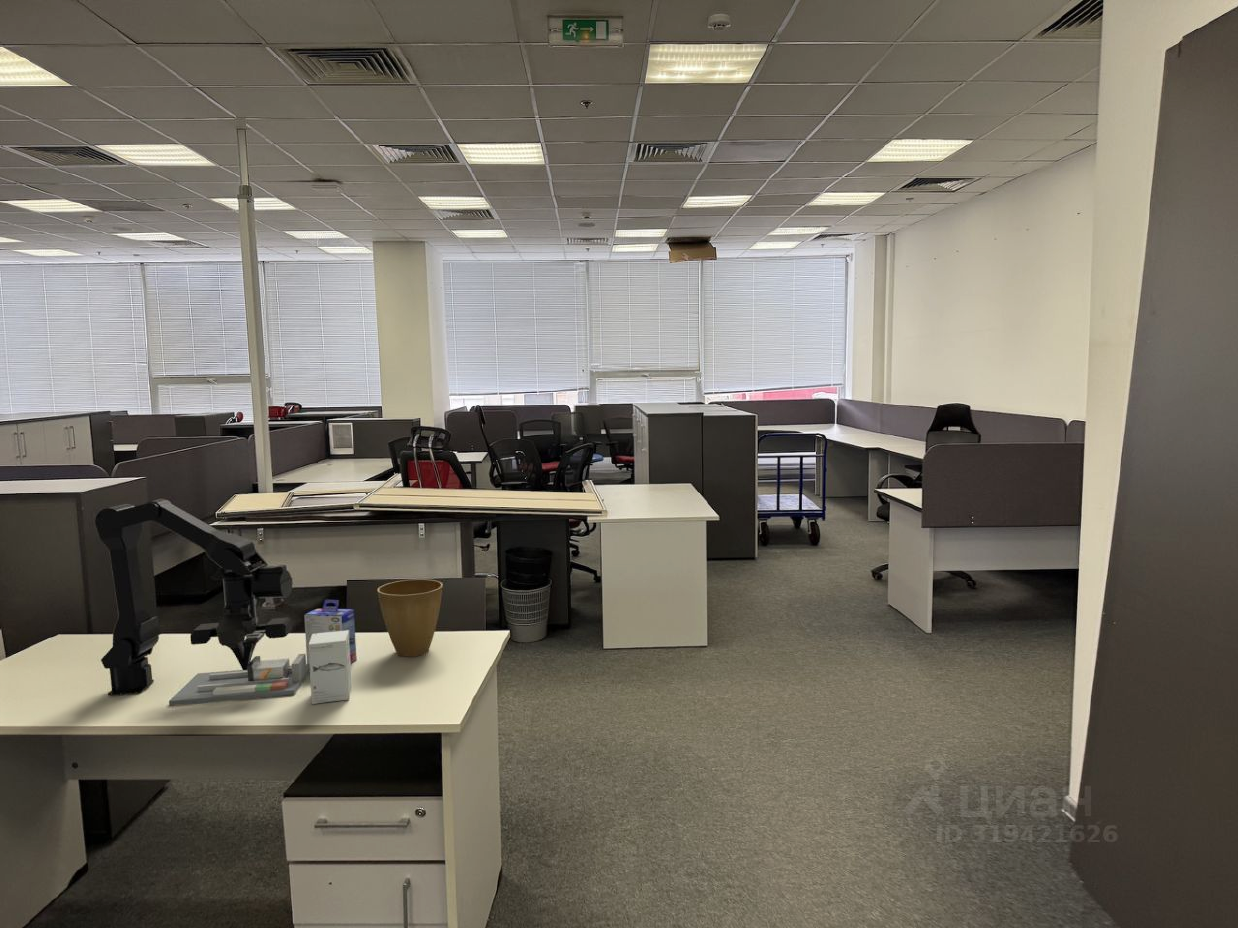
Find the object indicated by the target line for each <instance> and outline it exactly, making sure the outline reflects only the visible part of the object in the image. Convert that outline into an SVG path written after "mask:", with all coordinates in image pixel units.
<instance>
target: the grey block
mask: <svg viewBox="0 0 1238 928" xmlns="http://www.w3.org/2000/svg"><path fill="white" fill-rule="evenodd" d="M290 666H291V665H290V658H280V659H279V658H278V659H266V660H261V655H258V656H257V655H256V656H255V655H254V657H252V658H251V661H250V663H249V664H248V665H247V672H248V681H258V680H269V679H281V678H286V677H287V675H288V674H289V673H290Z"/></svg>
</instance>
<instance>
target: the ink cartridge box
mask: <svg viewBox="0 0 1238 928" xmlns="http://www.w3.org/2000/svg"><path fill="white" fill-rule="evenodd" d="M339 602H340V600H339V599H325V600H324V602H323V606H322V608H316V609H313V610H311V611H308V612H307V613H305V614H304V615H303V616H304V617H303V618H304V632H305V634H304V635H305V649H306V650H305V651H306V653H305V654H306V664H310V663H309V642H310V639H311V636H312V634H316V633H326V632H337V631H346V630H349V645H350V663H351V664H352V663H354V662H355V660H356V661H357V642H356V629H355V628H356V626H355V610H354V608H353V609H349V608H339V604H340V603H339ZM331 603H332V604H334V606H331V605H327V604H331Z"/></svg>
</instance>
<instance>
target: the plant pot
mask: <svg viewBox="0 0 1238 928" xmlns="http://www.w3.org/2000/svg"><path fill="white" fill-rule="evenodd" d="M443 586H444V585H443V582H441V581H438V580H434V579H422V578H420V579H419V578H417V579H416V578H415V579H403V580H398V581H393V582H389V583H385V584H384V585H381V586H379V587H378V588H377V597H378V600H379V605H380V610H381V613H382V618H383V622H384V623H385V628H386V631H387V632H388V635H389V638H390V642H391V644H392V646H393V648H394V650H395V652H396V654H397V655H398V656H400V657H405V658H411V657H418V655H419V656H423V655H424V653H425V654H427V653H428V651H430V648H431V645H432V642H433V639H434V635H435V632H436V627H437V625H438V624H437V623H438V620H439V614H440V610H441V609H440V608H441V603H442V594H443ZM426 652H427V653H426ZM422 654H423V655H422Z"/></svg>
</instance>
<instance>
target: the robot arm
mask: <svg viewBox="0 0 1238 928" xmlns="http://www.w3.org/2000/svg"><path fill="white" fill-rule="evenodd" d="M94 516H95V517H94V527H95V529H96V531H97V535H98V539H99V540H100V541H101V542H102V543H103V545H104V546H105V547H106V549H108V553H109V559H110V566H111V572H112V573H111V574H112V581H113V584H114V585H113V587H114V595H115V602H116V606H117V614H118V615H117V620H116V622H115V625H114V628H113V631H112V647H111V648H110V649H109V650H108V651H107V652H106V653H105V655H104V656H102V658H101V659H100V661H101V664H102V666H103V668H104V669H109V674H110V685H111V690H109V692H108V693H107V696H109V695H110V696H121V695H129V694H131V695H132V694H141V693H143V692H144V691H145V690H146V689H147V688H149V686H150V685H152V684H153V683H154V682H155V680H154V679H153V672H152V665H151V664H150V663H149V658H148V656H150V655H151V654H152V652H153V649H154V647H155V646H156V644H157V643H159V640H160V635H161V634H162V631H161V630H160V627H159V626H160V625H159V624H160V623H159V621H160V619H159V617H158V616H156V615H155V616H153V617H152V616H151V615H150V613H149V612H148V611H147V610H146V604H145V597H144V596H145V595H144V590H143V589H144V588H143V582H142V576H141V569H140V561H139V554H138V543H139V540H140V537H141V534H142V531H143V523H145V522H149V521H152V522H155V523H156V524H158V525H160V526H162V527H164V528H165V529H167V530H169V531H171V532H172V533H175V534H176V535H178V536H180V537H182V538H184V539H185V540H187V541H188V542H191V543H192V544H195V545H196V546H198V547H199V548H201V549H202V550H203V551H204V552H205V553H206V555H207V557H208V558H209V559H210V560H211V561H212V562H214V563H215V564H216V565H217V566H219V568H218V570H217V572H216V573H215V574H214V575H212V576H211V579H212V580H213V581H215V580H216V581H217V580H218V581H219V580H220V581H221V580H222V583H223V585H222V586H223V596H224V607H223V609H222V613H223V614H222V618H221V620H220V621H219V622H210V623H201V624H199V625H198V626H197V627H196V628H195V629H193V630H192V632H190V637H189V638H190V645H192V646H193V645H203V644H208V642H210V640H211V639H212V638H217V639H218V643H219V644H220V645H221V646H223V647H225V646H226V647H227V648H229V650H231V651H232V653H233V654H234V656H235V658H236V660H237V662H238V664H239V665H240V667H241V670H247V665H248V664H249V663H250V662H251V661H252V659H253V654H254V651H255V648H256V645H257V644H258V643H259V642H260V641H261V640H262V638H263V637H264V636H266V637H267V638H268V639H279V638H281V639H282V638H285V637H287V636H288V635H289V634H290V633H291V631H292V630H293V622H292V620H291V618H289V617H278V618H277V617H276V618H271V619H270V620H269V621H268V622H267V623H262V624H260V623H259V624H258V622H259V617H258V616H257V609H256V608H257V607H256V605H257V603H258V600H257V598H258V599H275V598H288V597H289V596H290V595H291V593H292V589H293V584H294V583H293V577H292V575H291V573H290V571H288V570H287V565H286V564H279V565H269V564H268V563H267V561H265V559H264V558H263V557H262V556H261V555H260V553H259V552H258V551H257V550H256V547H255V544H254V543H253V541H252V540H250V539H249V538H246V537H244V536H241V535H239V534H236V533H230V532H225V531H222V530H219V529H216V528H215V527H213V526H211V525H210V524H207V523H206V522H205V521H202V520H200V519H198V517H195V516H194V515H192V514H190V513H188V512H187V511H185V510H183V509H181V508H179V507H177V506H176V505H174V504H172V502H171V501H170V500H167V499H165V498H158V499H154V500H151V501H148V502H146V503H144V504H143V503H142V504H141V505H140V504H139V505H134V504H131V503H124V504H119V505H115V506H112V507H111V506H110V507H107V508H103V509H101V510H100V511H99V512H98V513H97V514H96V515H94ZM247 564H248V565H247ZM255 597H257V598H255ZM120 694H121V695H120Z"/></svg>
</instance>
